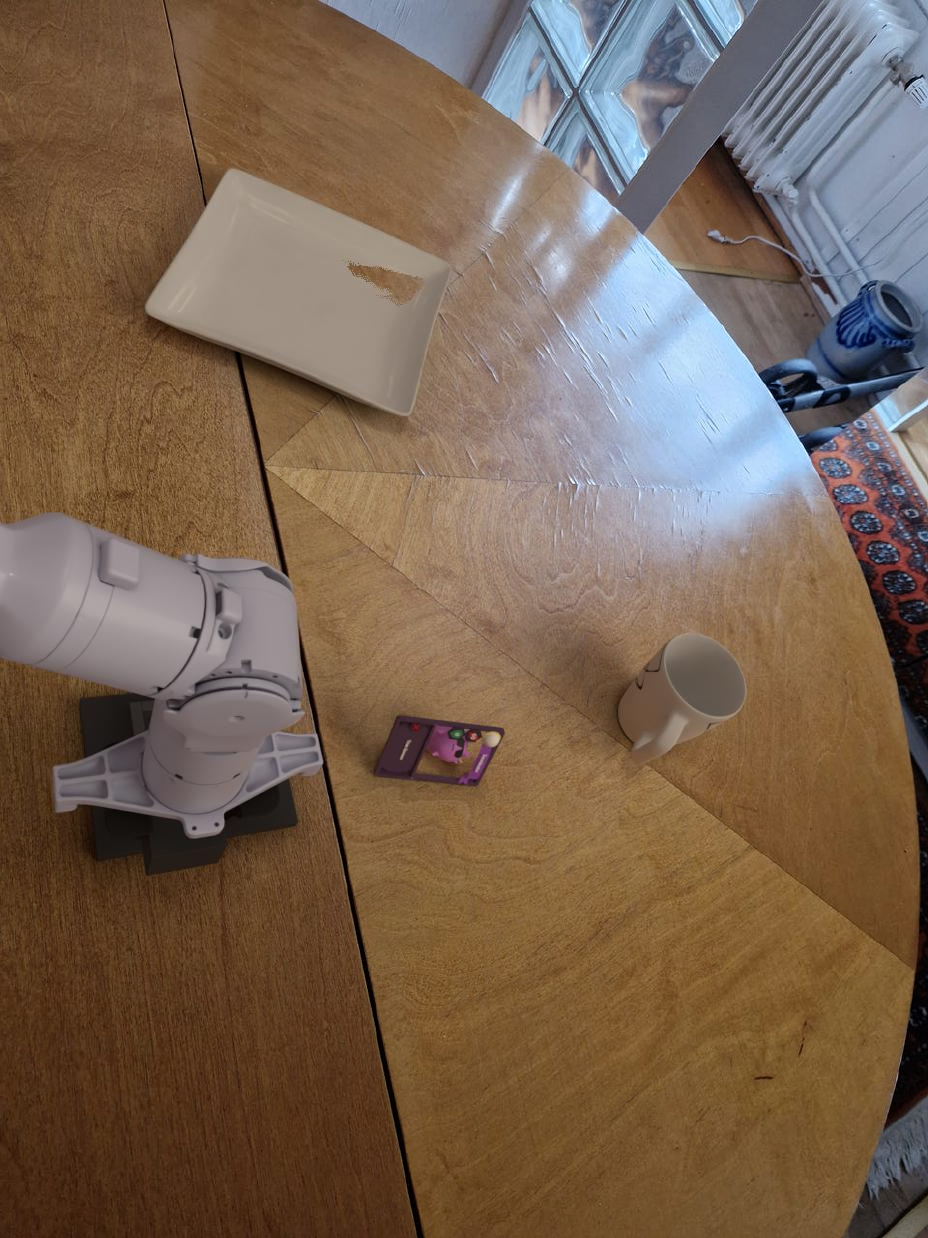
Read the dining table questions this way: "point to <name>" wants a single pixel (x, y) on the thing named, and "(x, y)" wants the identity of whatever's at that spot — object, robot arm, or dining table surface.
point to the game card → (435, 748)
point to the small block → (178, 848)
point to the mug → (680, 695)
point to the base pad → (127, 719)
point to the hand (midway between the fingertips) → (178, 817)
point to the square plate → (303, 292)
